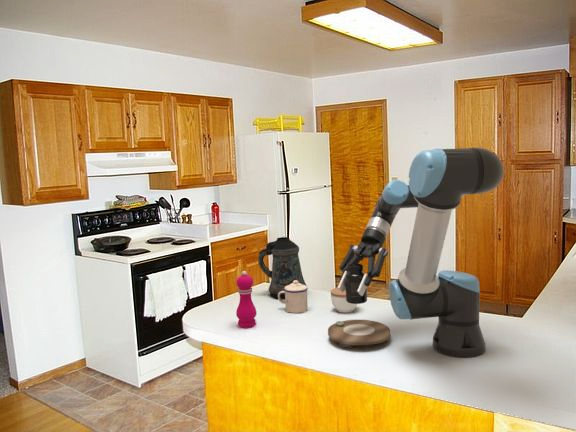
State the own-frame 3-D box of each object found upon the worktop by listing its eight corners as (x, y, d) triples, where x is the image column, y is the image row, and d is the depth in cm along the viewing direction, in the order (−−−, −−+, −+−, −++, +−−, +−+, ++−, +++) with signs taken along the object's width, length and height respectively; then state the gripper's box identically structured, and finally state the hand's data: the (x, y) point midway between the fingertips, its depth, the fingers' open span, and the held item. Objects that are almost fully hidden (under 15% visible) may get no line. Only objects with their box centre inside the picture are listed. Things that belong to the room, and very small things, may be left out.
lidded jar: (325, 311, 190) (324, 287, 189) (341, 304, 198) (340, 281, 197) (349, 316, 183) (348, 292, 182) (364, 309, 192) (364, 285, 190)
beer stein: (314, 295, 212) (312, 238, 209) (273, 304, 202) (271, 243, 199) (294, 287, 226) (292, 233, 223) (256, 294, 217) (253, 238, 214)
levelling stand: (402, 336, 162) (402, 324, 161) (368, 357, 147) (368, 343, 146) (351, 324, 175) (350, 313, 174) (315, 341, 160) (315, 329, 160)
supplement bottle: (371, 300, 160) (370, 264, 159) (359, 305, 155) (358, 268, 154) (353, 297, 165) (352, 261, 163) (341, 302, 160) (340, 265, 158)
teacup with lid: (310, 307, 197) (309, 278, 195) (304, 314, 188) (303, 284, 187) (282, 305, 200) (281, 277, 199) (274, 312, 192) (273, 283, 190)
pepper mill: (254, 329, 174) (251, 273, 172) (234, 328, 176) (231, 273, 173) (259, 322, 181) (256, 268, 179) (240, 321, 183) (237, 268, 180)
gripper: (406, 242, 163) (381, 302, 152) (355, 238, 176) (329, 293, 165) (397, 228, 158) (372, 289, 148) (346, 225, 171) (319, 281, 161)
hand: (349, 291), depth 157 cm, fingers closed on supplement bottle, 7 cm apart
